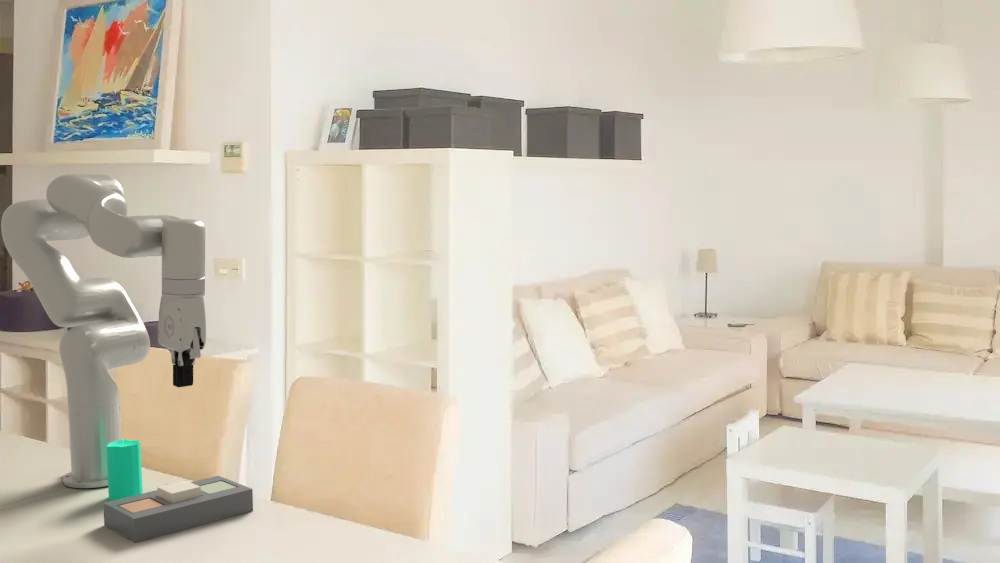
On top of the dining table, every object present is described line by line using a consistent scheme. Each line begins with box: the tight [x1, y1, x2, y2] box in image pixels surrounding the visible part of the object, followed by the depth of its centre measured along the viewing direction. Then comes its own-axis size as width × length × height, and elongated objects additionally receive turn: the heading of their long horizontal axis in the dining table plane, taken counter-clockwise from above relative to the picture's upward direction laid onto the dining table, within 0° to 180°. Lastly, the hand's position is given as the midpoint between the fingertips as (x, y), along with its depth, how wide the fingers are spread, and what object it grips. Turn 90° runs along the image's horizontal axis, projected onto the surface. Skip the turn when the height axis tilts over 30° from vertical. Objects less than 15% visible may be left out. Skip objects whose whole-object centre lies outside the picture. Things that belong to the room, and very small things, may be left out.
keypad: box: [102, 475, 254, 543], centre depth 170 cm, size 12×22×4 cm, turn 136°
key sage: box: [200, 481, 236, 494], centre depth 175 cm, size 5×5×3 cm
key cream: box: [156, 480, 201, 503], centre depth 170 cm, size 5×5×3 cm
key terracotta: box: [119, 499, 163, 513], centre depth 165 cm, size 5×5×3 cm
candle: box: [106, 437, 144, 501], centre depth 182 cm, size 6×6×12 cm
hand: (183, 385), depth 178 cm, fingers closed
